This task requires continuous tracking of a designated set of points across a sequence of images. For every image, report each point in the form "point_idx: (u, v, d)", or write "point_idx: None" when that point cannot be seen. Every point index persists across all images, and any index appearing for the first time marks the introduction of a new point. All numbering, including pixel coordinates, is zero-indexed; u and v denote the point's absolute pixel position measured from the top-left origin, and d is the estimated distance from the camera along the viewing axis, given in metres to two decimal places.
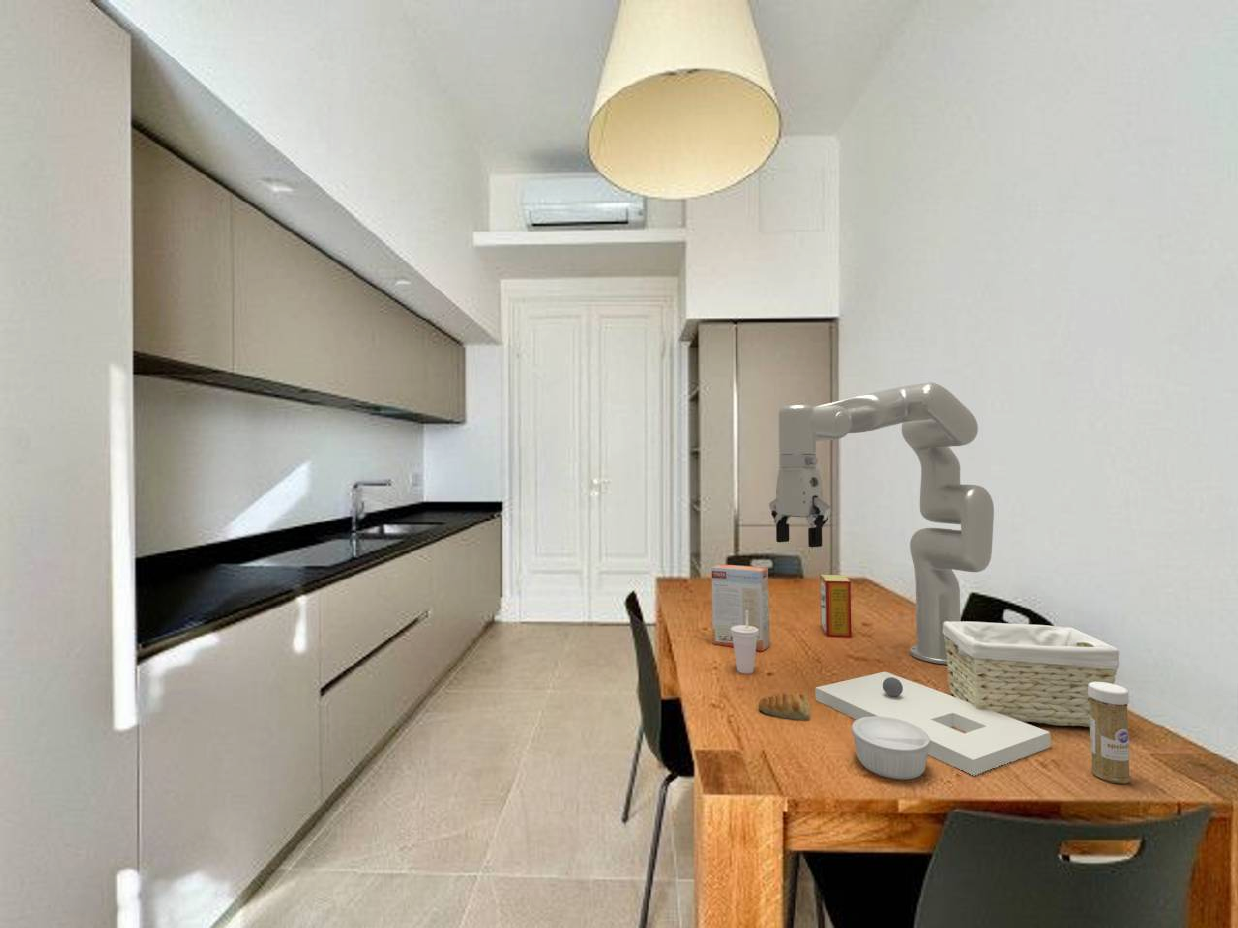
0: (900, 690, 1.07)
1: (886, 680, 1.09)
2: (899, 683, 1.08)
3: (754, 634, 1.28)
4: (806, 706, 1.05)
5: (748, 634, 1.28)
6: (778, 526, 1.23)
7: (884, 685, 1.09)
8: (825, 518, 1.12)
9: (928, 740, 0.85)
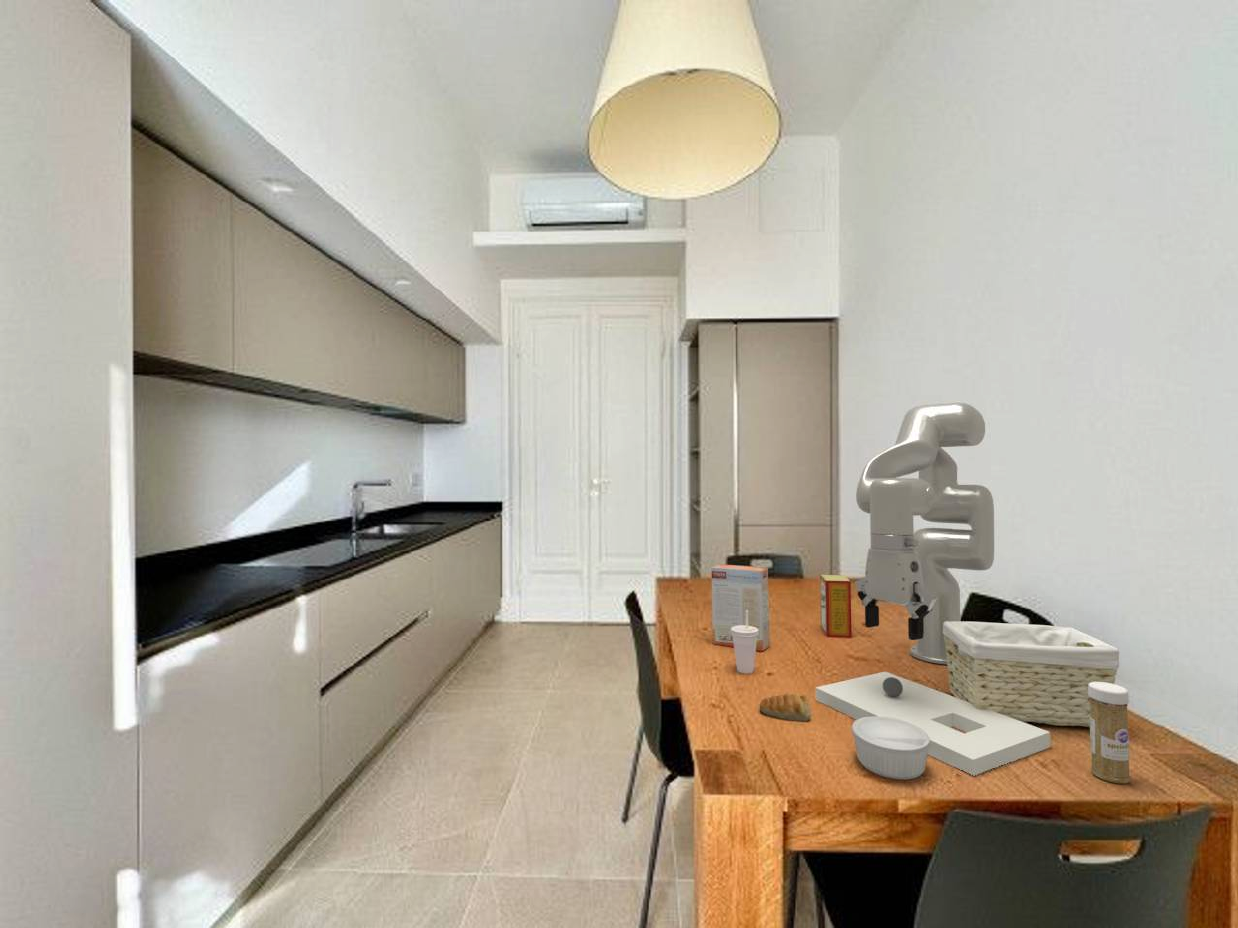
0: (900, 690, 1.07)
1: (886, 680, 1.09)
2: (899, 683, 1.08)
3: (754, 634, 1.28)
4: (807, 707, 1.05)
5: (748, 634, 1.28)
6: (868, 610, 1.12)
7: (884, 685, 1.09)
8: (929, 609, 1.01)
9: (928, 740, 0.85)
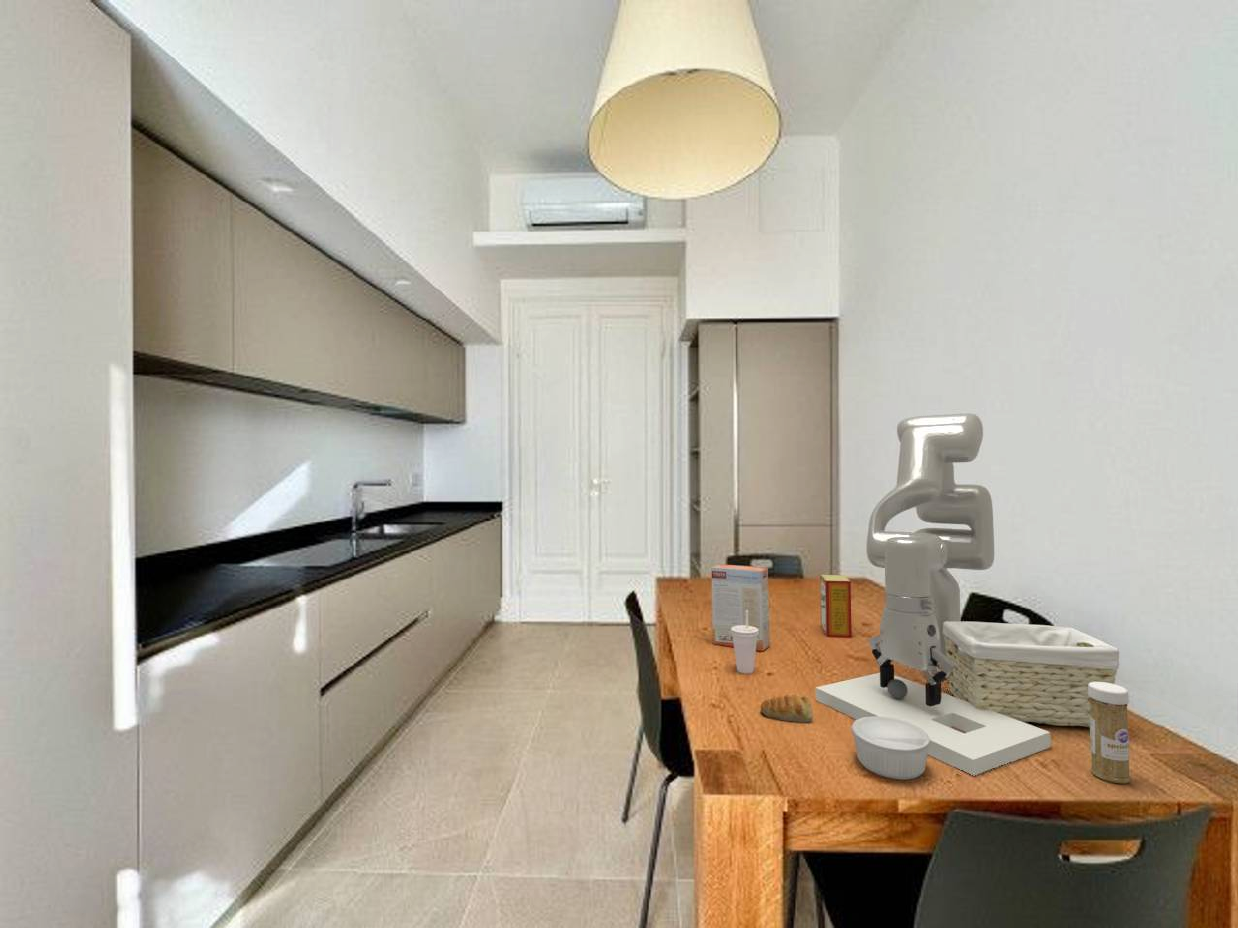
0: (903, 696, 1.07)
1: (894, 683, 1.07)
2: (906, 690, 1.06)
3: (754, 634, 1.28)
4: (809, 708, 1.04)
5: (748, 634, 1.28)
6: (883, 669, 1.09)
7: (890, 686, 1.07)
8: (947, 675, 0.99)
9: (928, 740, 0.85)
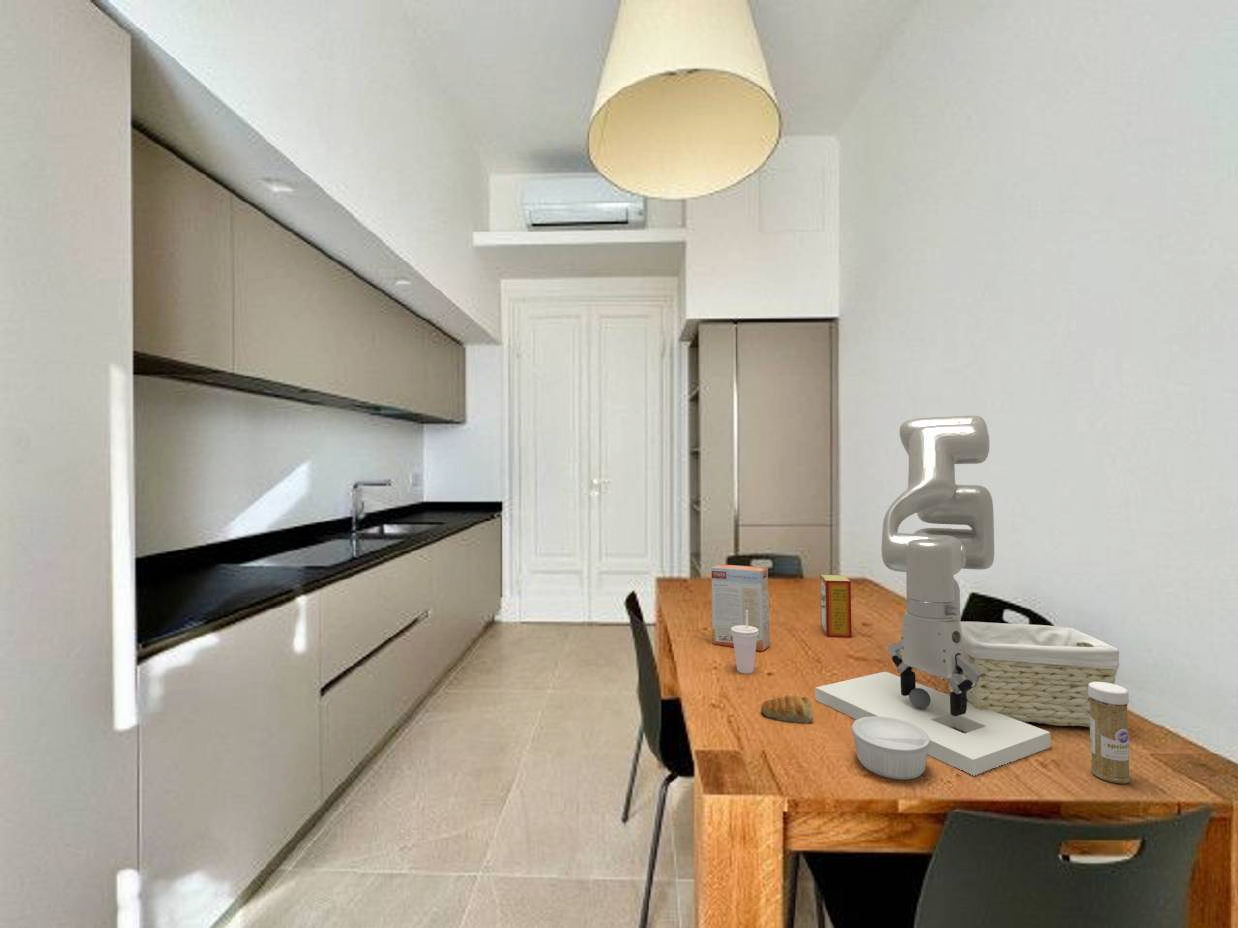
0: None
1: (916, 706, 1.03)
2: None
3: (754, 634, 1.28)
4: (809, 709, 1.04)
5: (748, 634, 1.28)
6: (904, 677, 1.05)
7: (915, 702, 1.02)
8: (973, 684, 0.94)
9: (928, 740, 0.85)
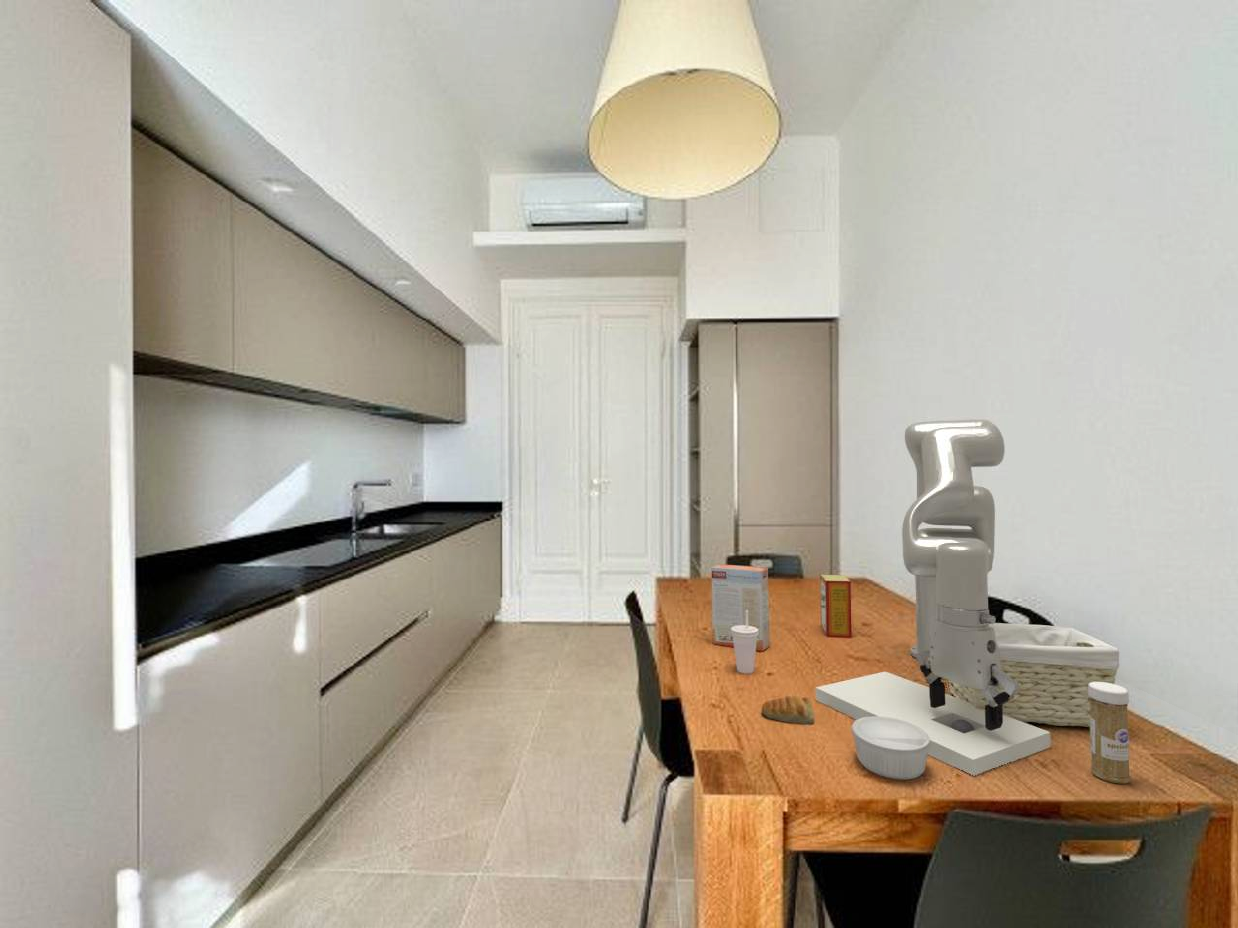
0: None
1: None
2: None
3: (754, 634, 1.28)
4: (810, 709, 1.03)
5: (748, 634, 1.28)
6: (933, 688, 1.00)
7: None
8: (1011, 697, 0.89)
9: (928, 740, 0.85)
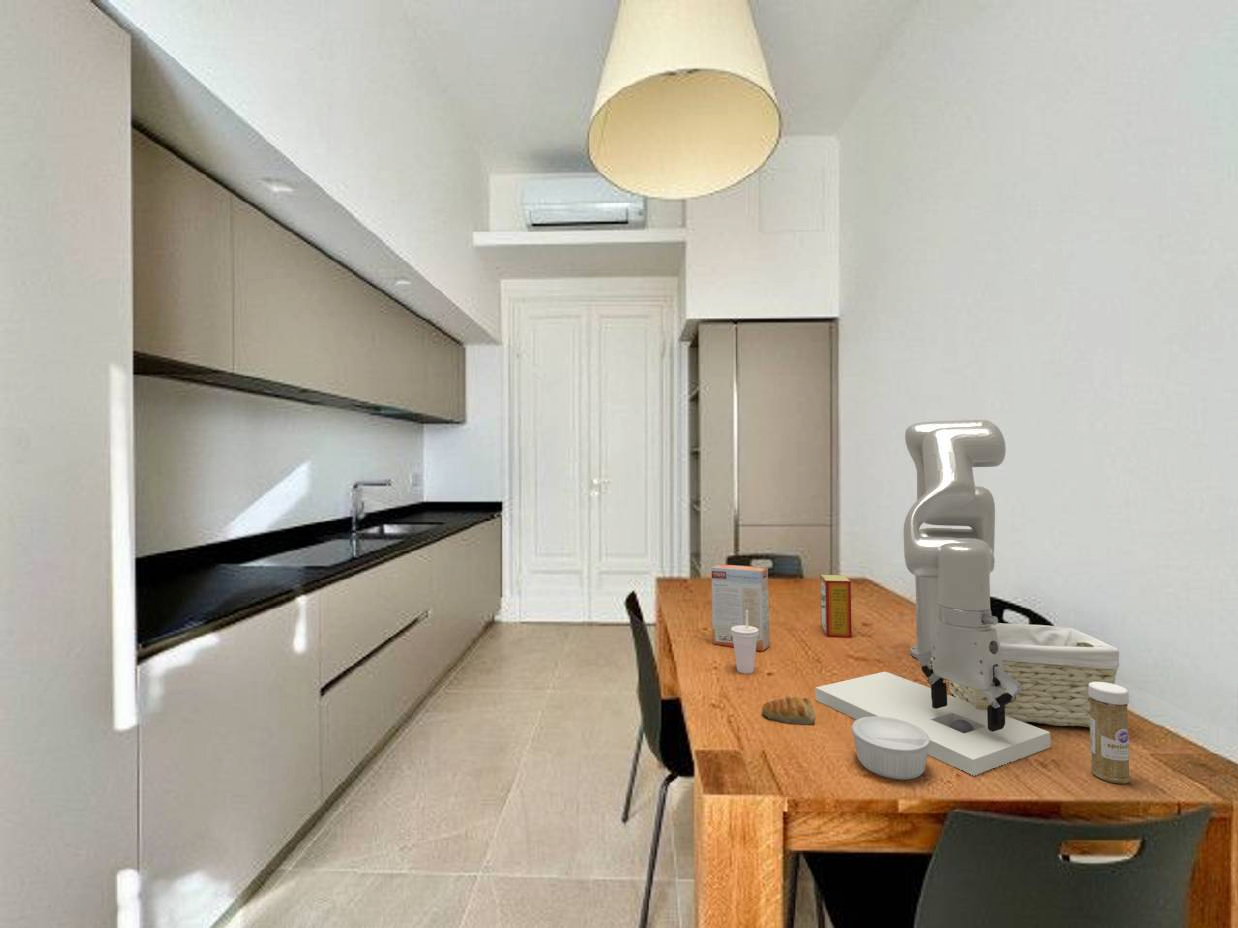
0: None
1: None
2: None
3: (754, 634, 1.28)
4: (811, 710, 1.03)
5: (748, 634, 1.28)
6: (935, 689, 0.99)
7: None
8: (1013, 698, 0.89)
9: (928, 740, 0.85)
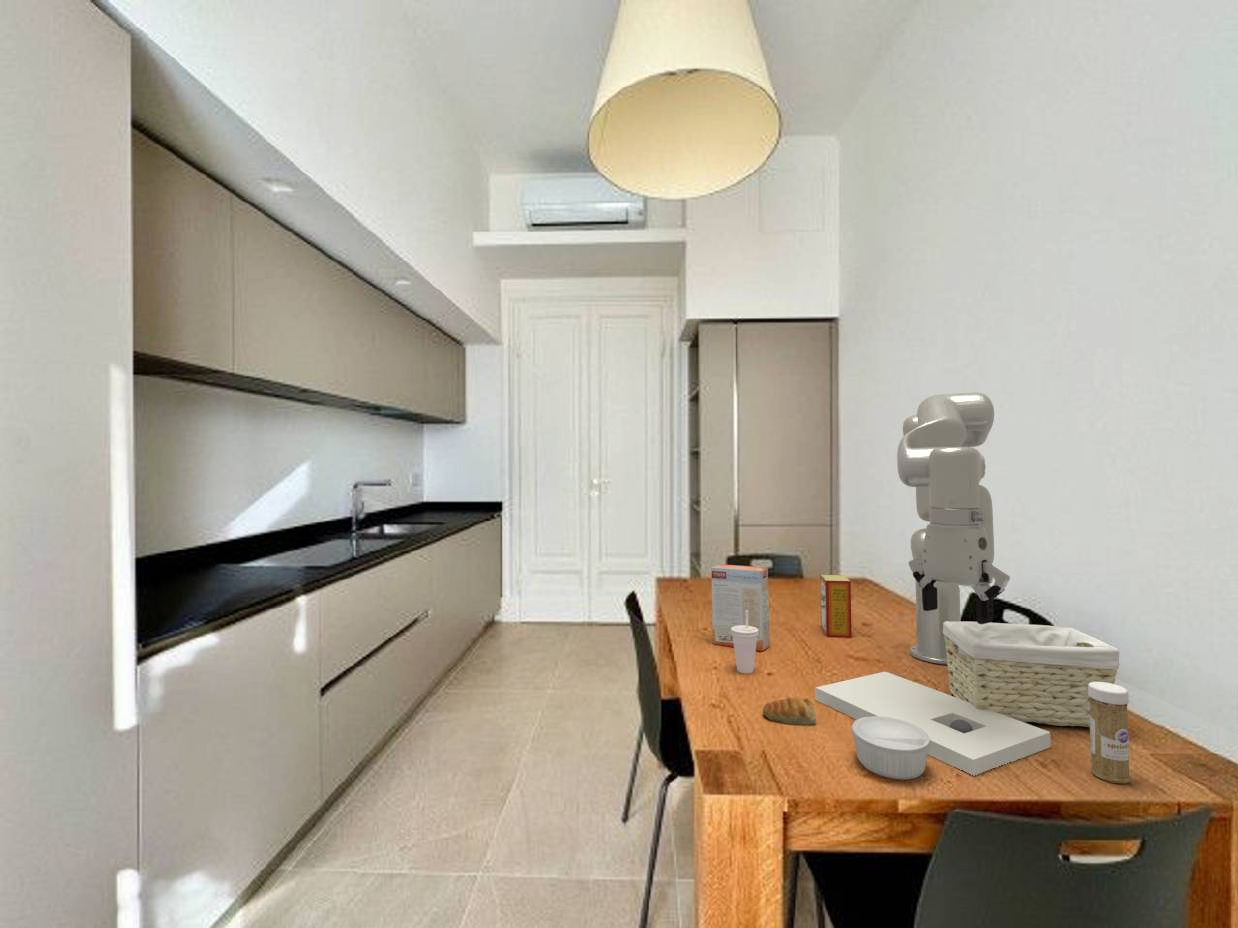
0: None
1: None
2: None
3: (754, 634, 1.28)
4: (812, 711, 1.03)
5: (748, 634, 1.28)
6: (926, 592, 1.02)
7: None
8: (1001, 590, 0.91)
9: (928, 740, 0.85)
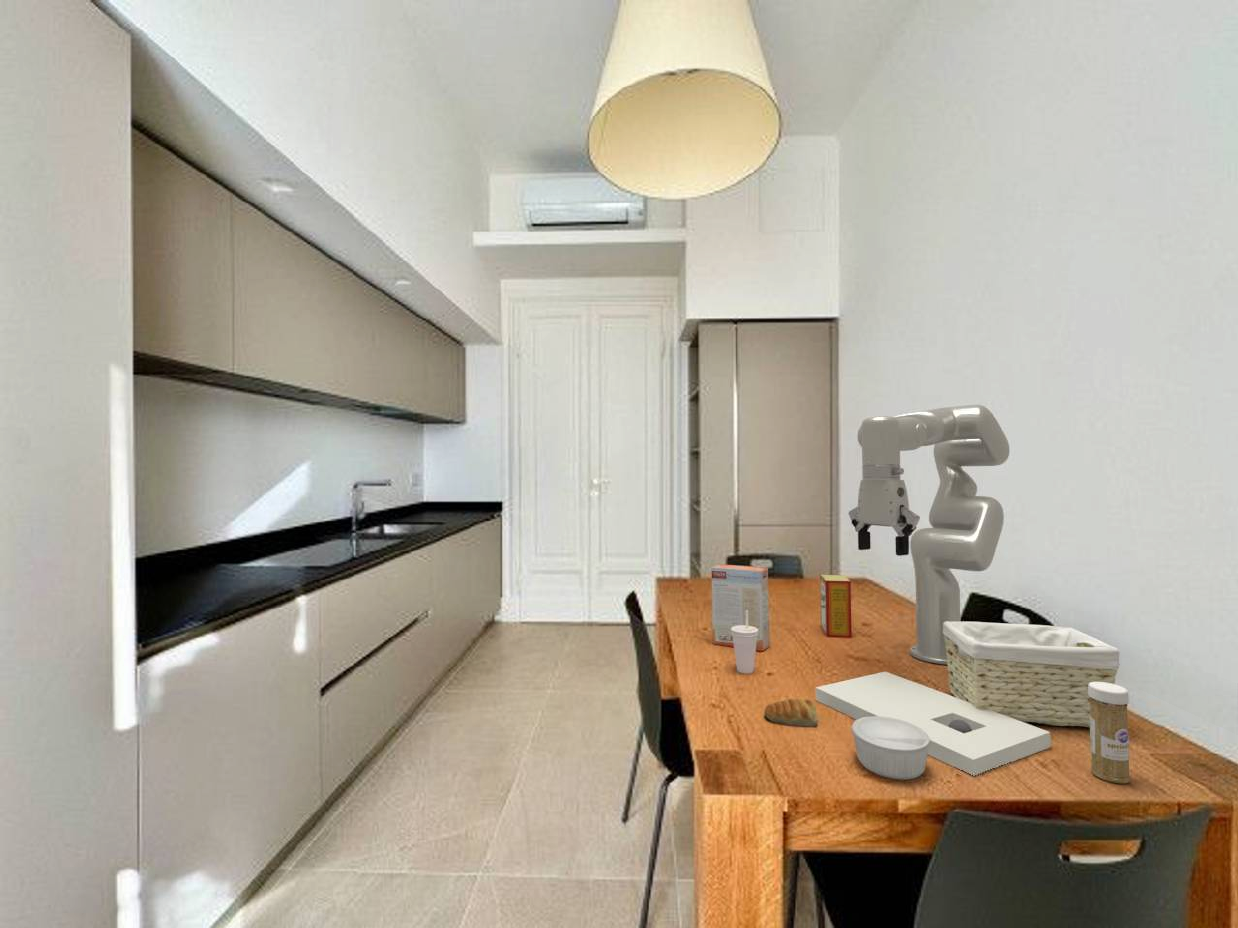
0: None
1: None
2: None
3: (754, 634, 1.28)
4: (814, 712, 1.02)
5: (748, 634, 1.28)
6: (860, 534, 1.26)
7: None
8: (913, 527, 1.16)
9: (928, 740, 0.85)
